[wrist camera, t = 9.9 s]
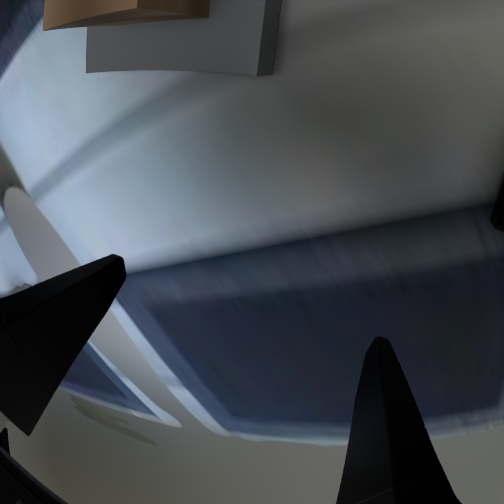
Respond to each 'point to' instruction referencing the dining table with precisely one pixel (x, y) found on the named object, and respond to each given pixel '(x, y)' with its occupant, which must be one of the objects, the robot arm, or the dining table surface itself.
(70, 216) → the dining table surface
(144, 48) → the slate slab
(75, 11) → the walnut cube
